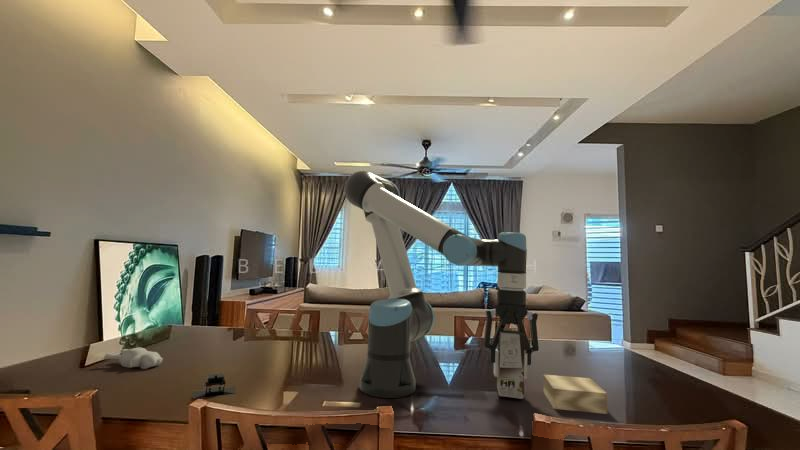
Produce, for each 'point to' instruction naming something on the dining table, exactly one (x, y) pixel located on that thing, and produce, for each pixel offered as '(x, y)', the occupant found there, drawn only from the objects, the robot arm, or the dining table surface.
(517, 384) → the coffee box
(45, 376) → the dining table surface
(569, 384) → the beech block
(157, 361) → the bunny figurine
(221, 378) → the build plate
